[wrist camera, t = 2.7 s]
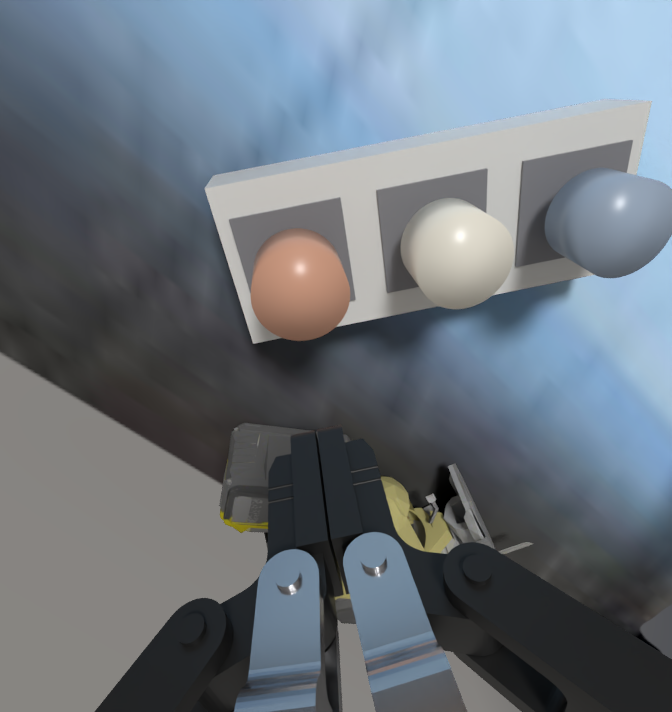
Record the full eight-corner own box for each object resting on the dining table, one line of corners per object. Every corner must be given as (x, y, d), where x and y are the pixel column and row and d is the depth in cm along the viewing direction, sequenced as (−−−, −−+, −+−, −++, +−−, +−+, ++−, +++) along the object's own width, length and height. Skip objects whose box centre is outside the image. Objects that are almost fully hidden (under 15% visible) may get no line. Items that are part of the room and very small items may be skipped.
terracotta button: (333, 220, 23) (342, 239, 20) (346, 302, 26) (356, 330, 23) (242, 238, 23) (238, 260, 20) (265, 319, 26) (264, 349, 23)
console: (604, 98, 27) (654, 101, 24) (581, 251, 33) (618, 271, 29) (213, 175, 27) (204, 189, 23) (255, 316, 32) (253, 345, 29)
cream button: (486, 189, 23) (517, 204, 21) (484, 275, 26) (511, 299, 23) (396, 207, 23) (414, 225, 20) (403, 291, 26) (420, 317, 23)
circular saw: (520, 521, 50) (329, 588, 54) (447, 326, 34) (181, 443, 38) (569, 616, 42) (337, 686, 46) (502, 416, 25) (152, 553, 30)
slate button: (638, 159, 24) (690, 170, 21) (620, 247, 26) (663, 268, 23) (549, 177, 24) (588, 190, 21) (540, 263, 26) (574, 286, 23)
